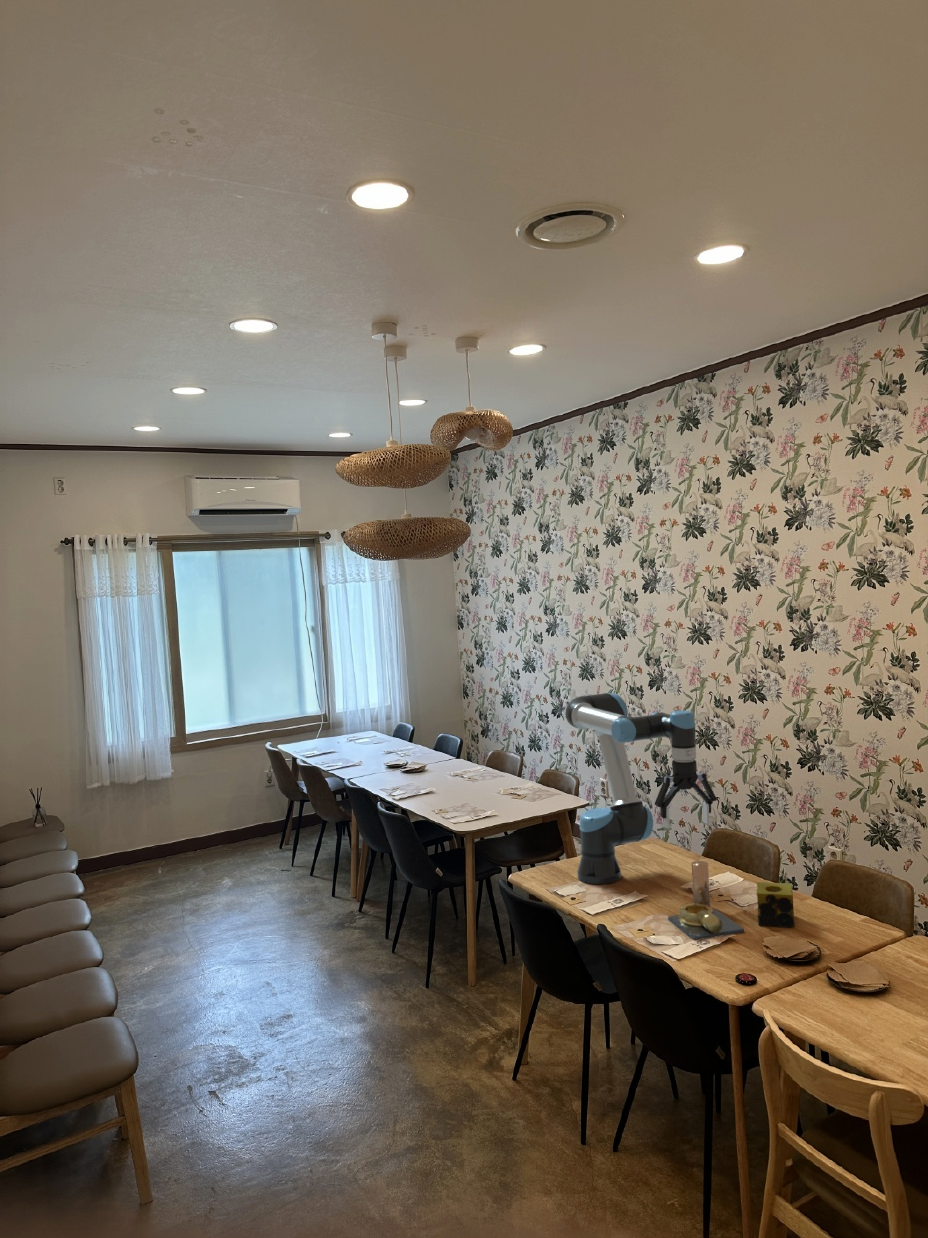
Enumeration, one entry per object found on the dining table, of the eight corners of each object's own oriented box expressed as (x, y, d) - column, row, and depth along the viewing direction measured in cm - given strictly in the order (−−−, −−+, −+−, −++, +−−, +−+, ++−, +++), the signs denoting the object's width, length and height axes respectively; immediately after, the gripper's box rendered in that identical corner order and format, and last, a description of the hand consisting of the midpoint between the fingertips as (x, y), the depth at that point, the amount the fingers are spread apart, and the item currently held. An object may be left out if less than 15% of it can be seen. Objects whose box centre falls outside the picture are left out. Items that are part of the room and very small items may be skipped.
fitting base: (667, 919, 257) (666, 901, 257) (715, 911, 261) (714, 894, 260) (693, 940, 241) (692, 921, 241) (744, 932, 245) (743, 913, 244)
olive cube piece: (793, 916, 254) (792, 883, 254) (795, 929, 245) (793, 895, 245) (758, 913, 258) (756, 881, 257) (758, 926, 248) (756, 892, 248)
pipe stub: (690, 906, 266) (688, 862, 266) (705, 903, 268) (703, 860, 267) (698, 911, 262) (696, 867, 261) (713, 909, 263) (711, 864, 262)
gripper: (652, 766, 262) (655, 833, 263) (726, 758, 267) (728, 824, 268) (642, 761, 270) (645, 826, 271) (714, 753, 275) (716, 818, 276)
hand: (686, 825), depth 269 cm, fingers open, 13 cm apart
